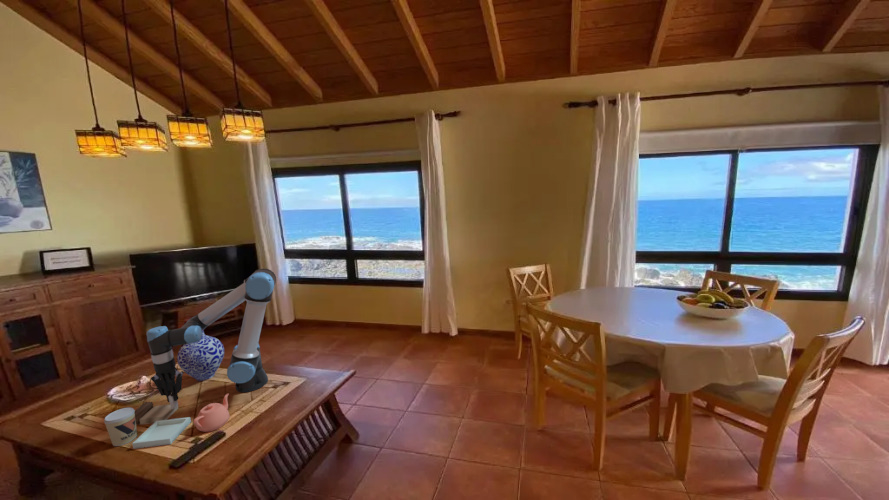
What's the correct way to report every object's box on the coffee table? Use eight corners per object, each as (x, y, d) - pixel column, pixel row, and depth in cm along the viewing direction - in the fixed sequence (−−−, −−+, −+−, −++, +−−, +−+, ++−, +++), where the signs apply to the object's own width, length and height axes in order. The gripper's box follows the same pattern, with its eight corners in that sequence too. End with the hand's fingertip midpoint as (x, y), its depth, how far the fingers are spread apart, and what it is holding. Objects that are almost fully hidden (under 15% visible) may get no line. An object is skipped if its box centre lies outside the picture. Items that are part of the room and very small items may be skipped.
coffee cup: (121, 448, 140) (115, 422, 138) (103, 446, 142) (97, 420, 140) (145, 433, 149) (140, 407, 147) (128, 431, 151) (122, 406, 149)
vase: (196, 369, 204) (187, 321, 199) (234, 365, 207) (227, 317, 202) (172, 389, 183) (162, 336, 178) (215, 384, 186) (206, 332, 181)
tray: (191, 422, 155) (190, 417, 154) (170, 444, 141) (169, 438, 141) (157, 426, 153) (156, 421, 153) (133, 448, 139) (132, 443, 139)
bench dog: (154, 410, 165) (152, 401, 164) (138, 424, 155) (136, 414, 154) (147, 411, 164) (145, 402, 164) (131, 425, 155) (129, 415, 154)
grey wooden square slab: (178, 409, 166) (177, 403, 166) (164, 422, 156) (163, 416, 156) (155, 411, 165) (154, 406, 164) (140, 425, 155) (139, 419, 154)
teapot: (185, 435, 146) (181, 415, 145) (221, 409, 163) (218, 390, 162) (208, 438, 143) (204, 418, 142) (242, 411, 161) (239, 393, 159)
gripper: (184, 354, 161) (194, 400, 165) (153, 358, 160) (165, 404, 164) (173, 362, 154) (184, 410, 158) (142, 366, 152) (154, 414, 156)
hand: (174, 407), depth 161 cm, fingers closed
